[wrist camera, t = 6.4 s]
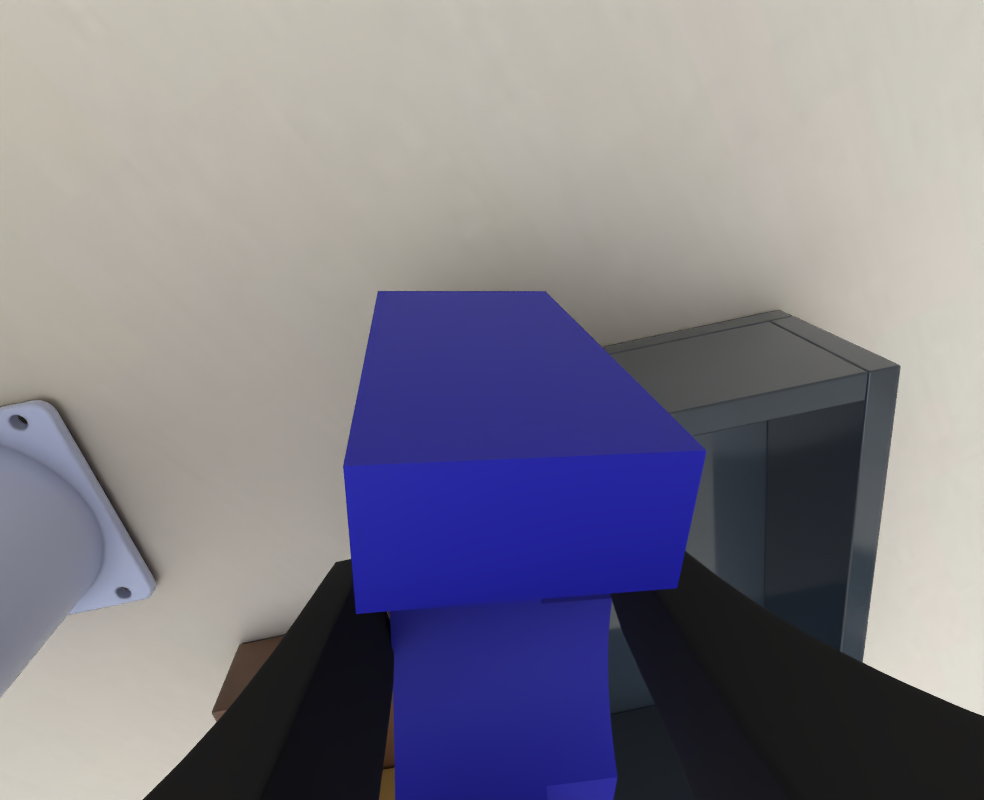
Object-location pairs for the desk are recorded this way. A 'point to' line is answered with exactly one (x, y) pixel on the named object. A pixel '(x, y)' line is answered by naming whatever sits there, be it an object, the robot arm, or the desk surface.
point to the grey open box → (764, 494)
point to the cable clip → (506, 535)
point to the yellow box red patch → (387, 785)
